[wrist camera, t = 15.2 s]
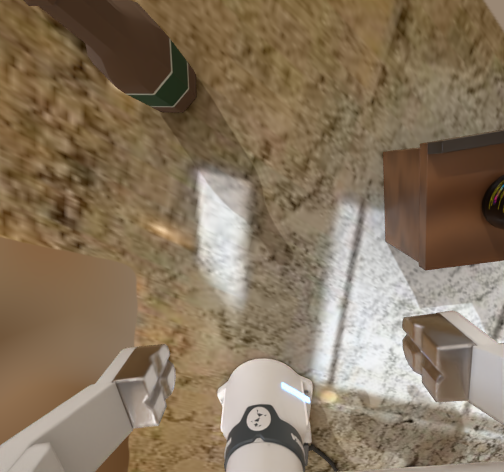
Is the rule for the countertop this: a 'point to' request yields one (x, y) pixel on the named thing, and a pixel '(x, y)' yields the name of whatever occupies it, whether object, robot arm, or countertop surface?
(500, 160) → the wooden stand
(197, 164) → the countertop surface
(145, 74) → the beer bottle
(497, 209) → the supplement container
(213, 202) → the countertop surface
